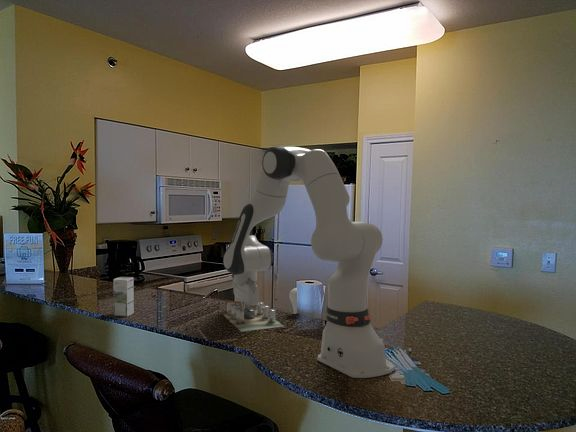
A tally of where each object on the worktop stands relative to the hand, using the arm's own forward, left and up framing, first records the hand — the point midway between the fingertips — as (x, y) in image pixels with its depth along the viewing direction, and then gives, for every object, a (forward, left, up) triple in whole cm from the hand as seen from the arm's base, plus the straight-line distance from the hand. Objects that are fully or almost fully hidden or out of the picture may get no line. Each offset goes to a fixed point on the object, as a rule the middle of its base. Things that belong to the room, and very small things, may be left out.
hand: (245, 311), depth 160 cm
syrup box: (+20, +43, -2) cm, 48 cm away
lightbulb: (-7, -19, -2) cm, 20 cm away
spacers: (-6, 0, -1) cm, 6 cm away
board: (-8, 0, -2) cm, 8 cm away
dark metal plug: (-5, 0, -1) cm, 5 cm away
